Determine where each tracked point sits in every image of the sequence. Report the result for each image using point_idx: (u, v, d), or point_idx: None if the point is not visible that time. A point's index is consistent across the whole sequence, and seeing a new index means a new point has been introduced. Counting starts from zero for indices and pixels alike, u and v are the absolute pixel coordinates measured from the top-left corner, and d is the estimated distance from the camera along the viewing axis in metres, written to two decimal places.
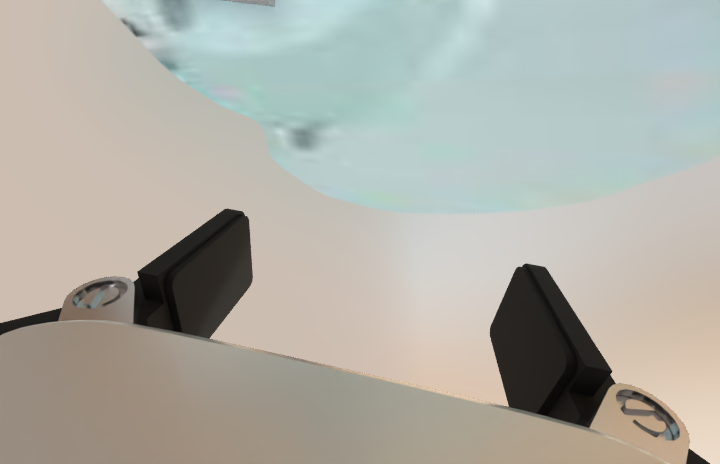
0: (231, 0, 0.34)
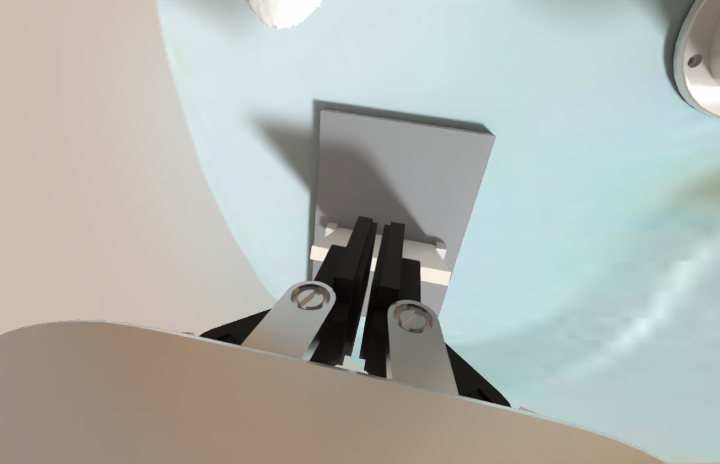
0: None
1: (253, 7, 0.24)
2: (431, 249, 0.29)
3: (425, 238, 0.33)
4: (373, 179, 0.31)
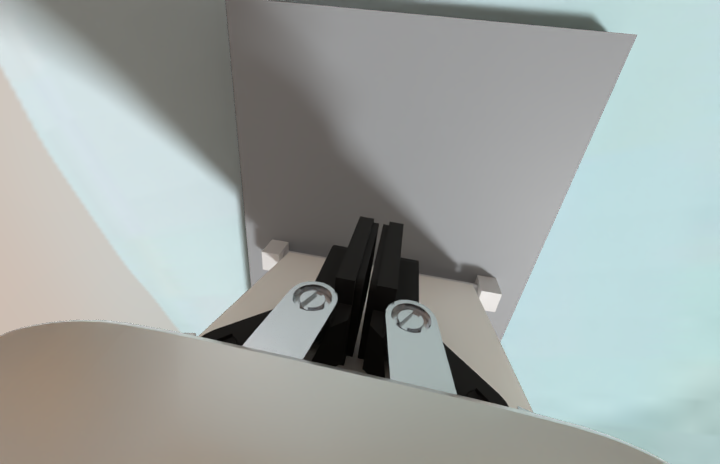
0: None
1: None
2: (476, 315, 0.13)
3: (456, 269, 0.17)
4: (350, 152, 0.15)
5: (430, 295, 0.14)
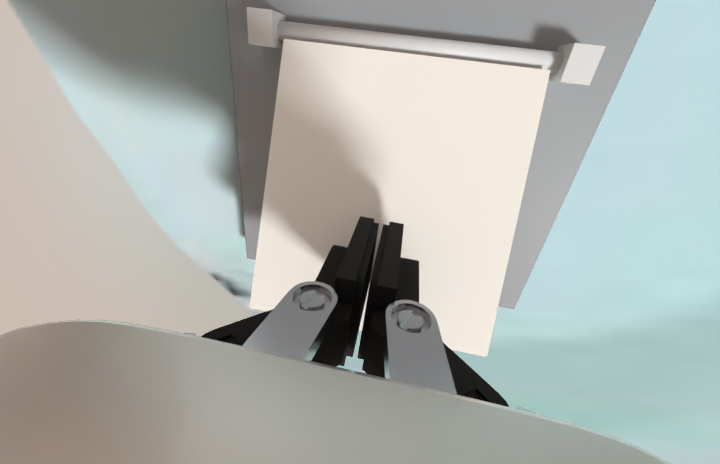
0: None
1: None
2: (517, 157, 0.11)
3: (527, 38, 0.12)
4: None
5: (472, 121, 0.12)
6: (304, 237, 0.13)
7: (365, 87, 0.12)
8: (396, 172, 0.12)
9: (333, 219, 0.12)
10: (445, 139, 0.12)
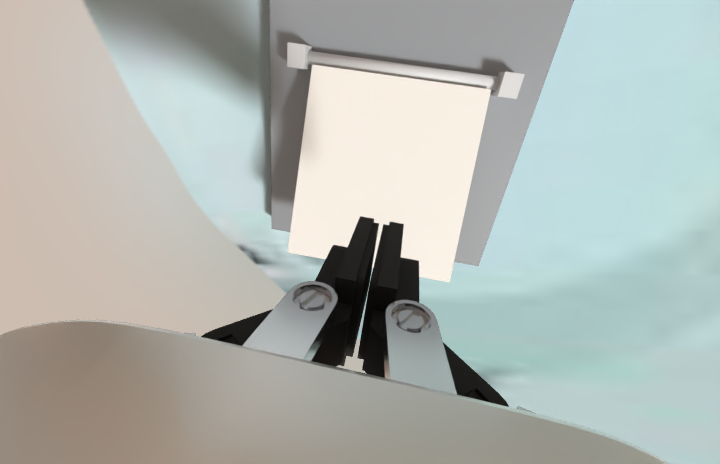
0: None
1: None
2: (469, 147, 0.17)
3: (477, 66, 0.17)
4: None
5: (440, 123, 0.17)
6: (326, 202, 0.18)
7: (368, 99, 0.17)
8: (389, 157, 0.18)
9: (346, 190, 0.18)
10: (422, 135, 0.17)
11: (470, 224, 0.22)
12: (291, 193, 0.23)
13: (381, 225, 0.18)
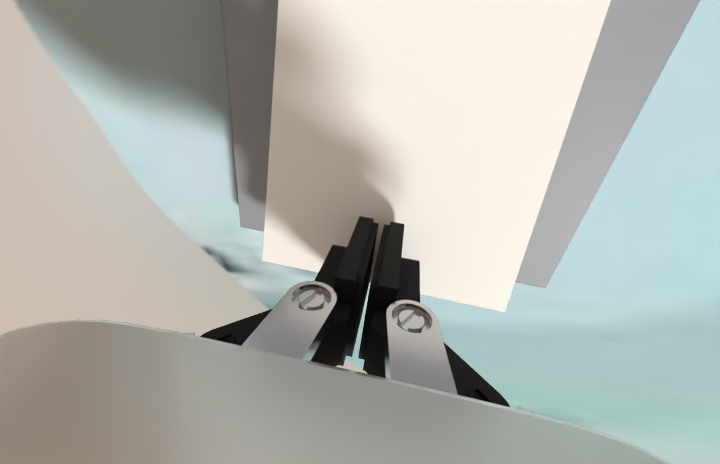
0: None
1: None
2: (561, 93, 0.10)
3: None
4: None
5: (511, 48, 0.10)
6: (315, 188, 0.12)
7: (382, 6, 0.10)
8: (417, 114, 0.10)
9: (346, 168, 0.11)
10: (477, 72, 0.10)
11: (541, 225, 0.14)
12: (264, 175, 0.15)
13: None
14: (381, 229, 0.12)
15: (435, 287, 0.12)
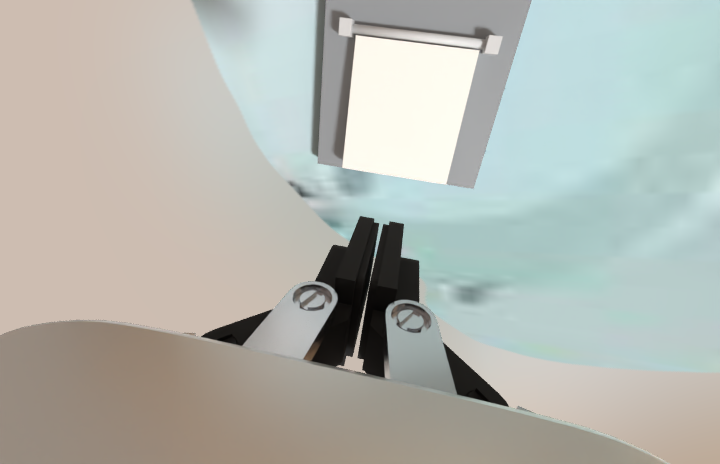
0: None
1: None
2: (462, 93, 0.26)
3: (471, 33, 0.25)
4: None
5: (443, 76, 0.25)
6: (366, 134, 0.28)
7: (394, 60, 0.26)
8: (408, 101, 0.27)
9: (379, 125, 0.28)
10: (431, 85, 0.26)
11: (467, 154, 0.29)
12: (333, 133, 0.30)
13: (402, 148, 0.28)
14: (394, 150, 0.28)
15: (417, 175, 0.29)
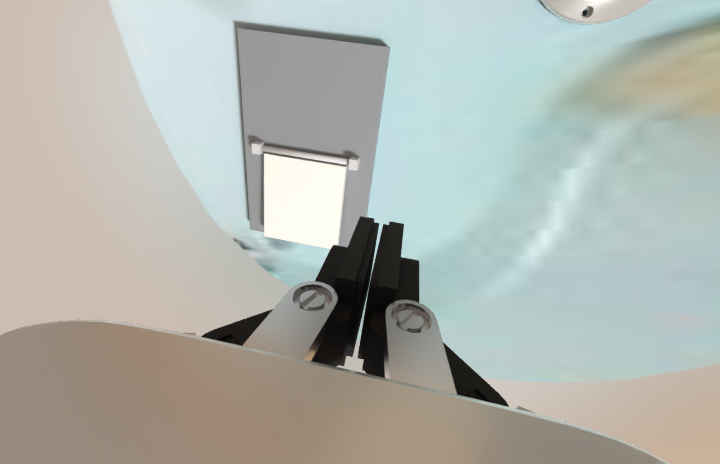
0: None
1: None
2: (338, 192, 0.37)
3: (342, 153, 0.36)
4: (290, 95, 0.34)
5: (324, 181, 0.37)
6: (278, 215, 0.40)
7: (291, 170, 0.37)
8: (304, 196, 0.38)
9: (286, 209, 0.39)
10: (317, 186, 0.37)
11: (353, 227, 0.41)
12: (259, 210, 0.42)
13: (304, 225, 0.40)
14: (298, 226, 0.40)
15: (316, 243, 0.41)
